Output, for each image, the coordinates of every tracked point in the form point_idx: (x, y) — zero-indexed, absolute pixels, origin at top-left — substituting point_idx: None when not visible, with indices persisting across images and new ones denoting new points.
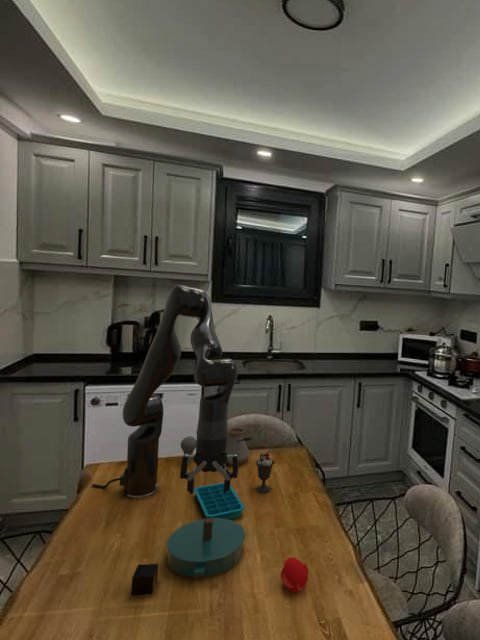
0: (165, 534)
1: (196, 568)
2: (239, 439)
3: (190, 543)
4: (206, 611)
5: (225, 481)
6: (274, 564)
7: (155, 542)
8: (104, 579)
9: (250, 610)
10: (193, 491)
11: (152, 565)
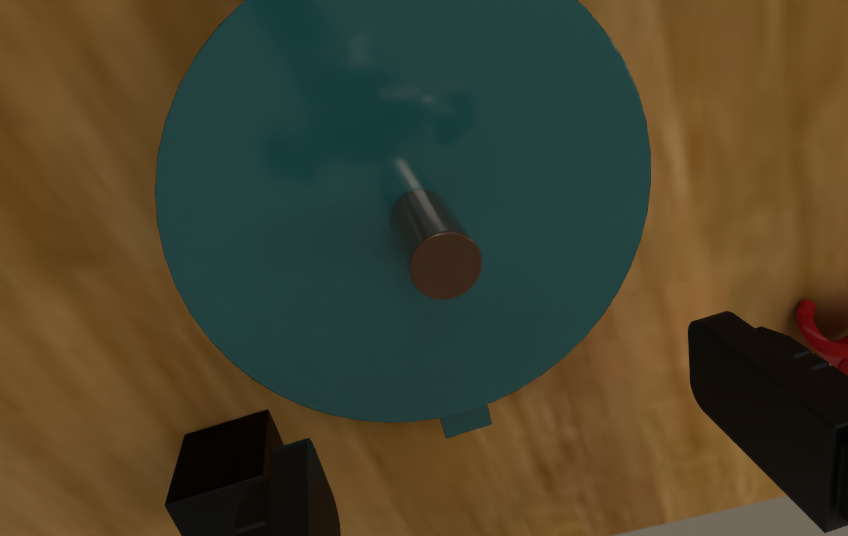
0: (13, 10)
1: (448, 416)
2: None
3: (340, 293)
4: (529, 483)
5: (830, 520)
6: (754, 194)
7: (16, 117)
8: (3, 440)
9: (676, 447)
10: (313, 446)
11: (242, 493)
